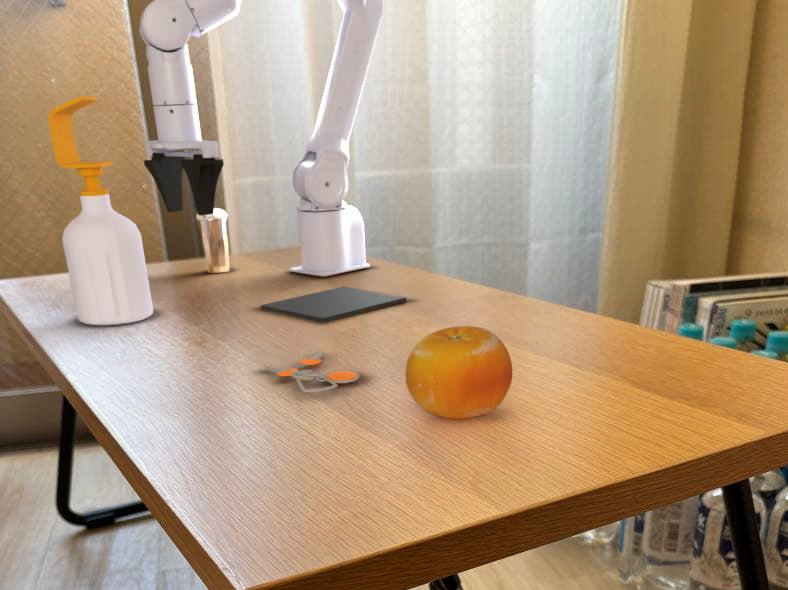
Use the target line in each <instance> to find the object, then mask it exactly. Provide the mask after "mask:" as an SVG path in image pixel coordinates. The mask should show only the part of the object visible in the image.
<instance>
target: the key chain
mask: <svg viewBox="0 0 788 590" xmlns="http://www.w3.org/2000/svg"><path fill="white" fill-rule="evenodd" d="M324 354H325V351H322V350H321V351H320V350H319V351H315V352H314V353H313V354H312V355H311V356H310V357H307V358H303V359H300V361H299V363H300V364H298V365H296V366H295V368H282V367H278V366H273V365H269V366H266V367H265V371H269V372H271V373H275V374H276V375H277V376H278V377H291V378H292V379H295V382H296V383H297V385H298V387H299V389H300V391H302V393H306V394H307V393H309V394H310V393H319V392H326V391H330V390H334V389H336V388H338V386H339V385H338V384H348V383H352V382H355V381H357V380H360V373H359V372H356V371H352V370H338V371H333V372H330V373H325V372H320V373H319V372H316V373H315V372H314V373H313V370H311V369H302V370H299V369H301V368H303V367H306V366H314V365H319V364H320V363H322V359H321V358H323V355H324ZM314 380H317V381H318V382H324V383H325V382H328V383H330V384H331V385H329V386H324V387H319V388H306V387H304V384H303V383H302V381H314Z"/></svg>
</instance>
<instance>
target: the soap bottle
mask: <svg viewBox="0 0 788 590" xmlns="http://www.w3.org/2000/svg"><path fill="white" fill-rule="evenodd" d="M97 101H98V98H97V96H96V95H95V96H94V95H91V96H79V97H76V98H74V99H72V100H70V101H68V102H67V101H66V102H65V103H63V104H61V105H59V106H57V107H54V108H53V109H52V110H51V111H50V112H49V115H48V126H49V130H50V136H51V141H52V146H53V153H54V156H55V160H56V162H57V164H58V165H59V166H60V167H62V168H64V169H76V170H77V175H78V176H79V177H83V180H84V186H85V189H79V190H78V193H79V199H80V204H81V212H80V213H79V214H78V215H77V216H75V217H74V218H73V219H72V220H70V222H69V223H68V224H67V225H66V226H65V228H63V232H62V240H61V241H62V246H63V251H64V256H65V261H66V266H67V271H68V276H69V282H70V287H71V291H72V292H71V293H72V297H73V302H74V307H75V311H76V316H77V320H78V322H81V323H83V324H85V325H88V326H95V327H96V326H99V327H100V326H102V327H103V326H104V327H106V326H108V327H109V326H119V325H126V324H133V323H136V322H141V321H143V320H146V319H148V318H149V317H151V316H152V315H153V314H154V307H153V300H152V295H151V288H150V282H149V275H148V270H147V264H146V257H145V251H144V245H143V239H142V238H143V237H142V234H141V232H140V230H139V228H138V226H137V224H136V223H135V222H133V221H132V220H131V219H129V218H128V217H127V216H124V215H123V214H120V213H119V212H117V211H116V210H115V209H113V207H112V203H111V198H110V193H109V188H102V187H101V183H100V177H99V176H102V175H104V172H103V168H104V167H109V166H114V161H112V160H104V161H103V160H100V161H84V160H82V159H80V157H79V155H78V152H77V147H76V142H75V138H74V137H75V135H74V131H73V125H72V117H73V114H74V113H75V112H76V111H79V110H80V109H83V108H85V107H87V106H89V105H92V104H94V103H96V102H97Z"/></svg>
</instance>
